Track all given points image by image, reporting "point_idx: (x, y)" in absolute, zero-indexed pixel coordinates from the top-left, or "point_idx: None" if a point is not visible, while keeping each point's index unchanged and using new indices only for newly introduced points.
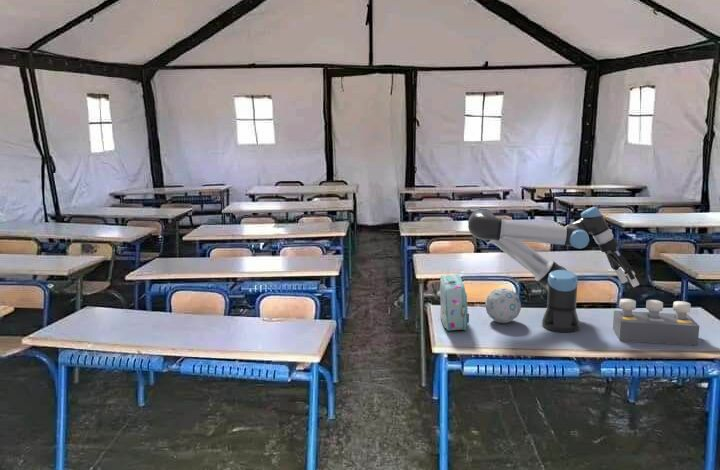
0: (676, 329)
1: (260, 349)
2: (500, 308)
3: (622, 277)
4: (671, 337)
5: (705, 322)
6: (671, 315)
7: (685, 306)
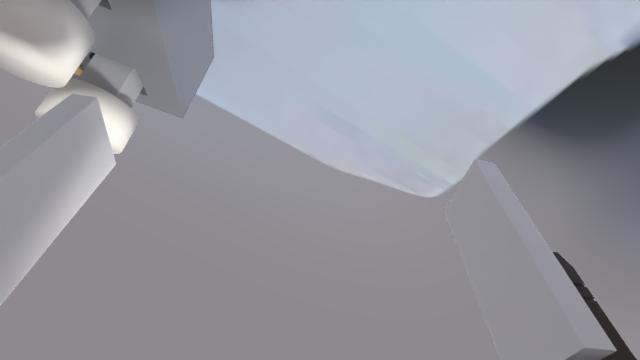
0: None
1: None
2: None
3: (482, 236)
4: None
5: (318, 149)
6: (138, 64)
7: None
